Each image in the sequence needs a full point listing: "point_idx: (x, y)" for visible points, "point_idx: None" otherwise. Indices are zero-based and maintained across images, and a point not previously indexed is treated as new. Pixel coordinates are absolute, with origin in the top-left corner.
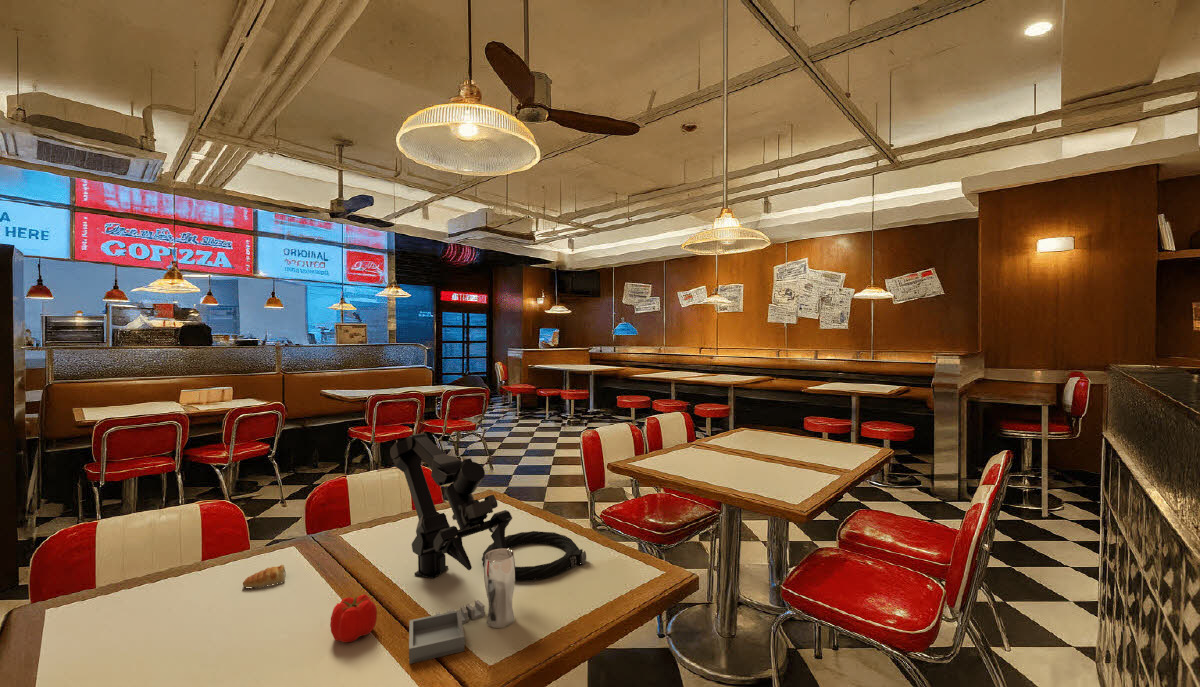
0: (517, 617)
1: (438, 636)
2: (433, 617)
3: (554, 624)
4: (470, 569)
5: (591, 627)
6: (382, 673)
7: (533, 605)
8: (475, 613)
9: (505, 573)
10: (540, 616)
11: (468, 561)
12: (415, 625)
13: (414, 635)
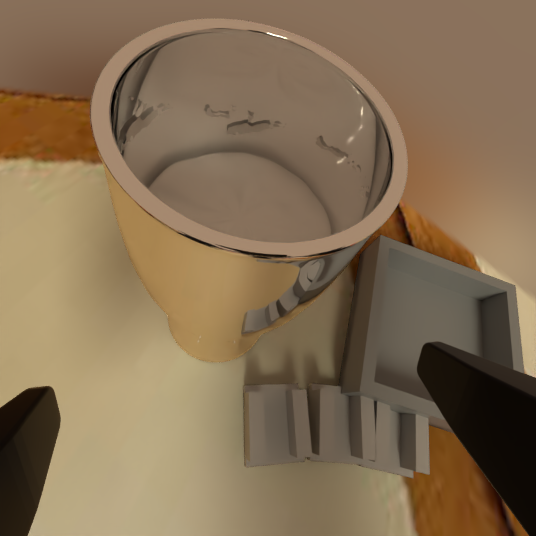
0: None
1: (418, 343)
2: None
3: (100, 185)
4: (420, 360)
5: (35, 110)
6: (531, 308)
7: (59, 320)
8: (278, 403)
9: (255, 119)
10: (98, 244)
11: (486, 367)
12: None
13: None
